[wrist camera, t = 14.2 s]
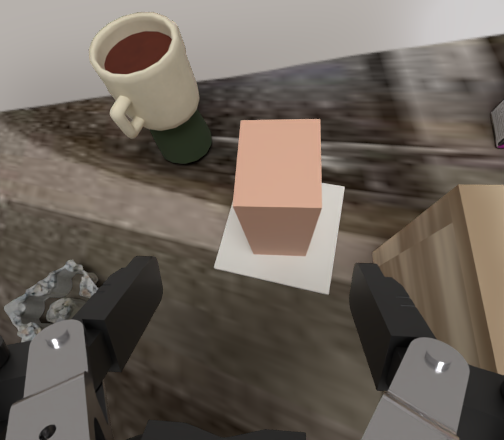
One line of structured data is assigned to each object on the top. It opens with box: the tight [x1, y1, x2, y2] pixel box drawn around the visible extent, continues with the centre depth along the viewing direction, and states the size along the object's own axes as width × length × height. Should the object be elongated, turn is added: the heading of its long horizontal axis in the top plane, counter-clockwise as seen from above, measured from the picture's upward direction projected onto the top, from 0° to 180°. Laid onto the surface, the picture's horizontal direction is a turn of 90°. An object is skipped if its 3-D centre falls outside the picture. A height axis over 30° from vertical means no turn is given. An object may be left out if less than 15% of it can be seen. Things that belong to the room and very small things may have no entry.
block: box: [233, 119, 322, 256], centre depth 22 cm, size 5×6×12 cm
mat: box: [214, 183, 345, 295], centre depth 28 cm, size 11×11×1 cm
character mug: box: [89, 12, 212, 164], centre depth 27 cm, size 11×7×13 cm, turn 159°
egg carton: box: [4, 260, 98, 342], centre depth 25 cm, size 11×8×4 cm
